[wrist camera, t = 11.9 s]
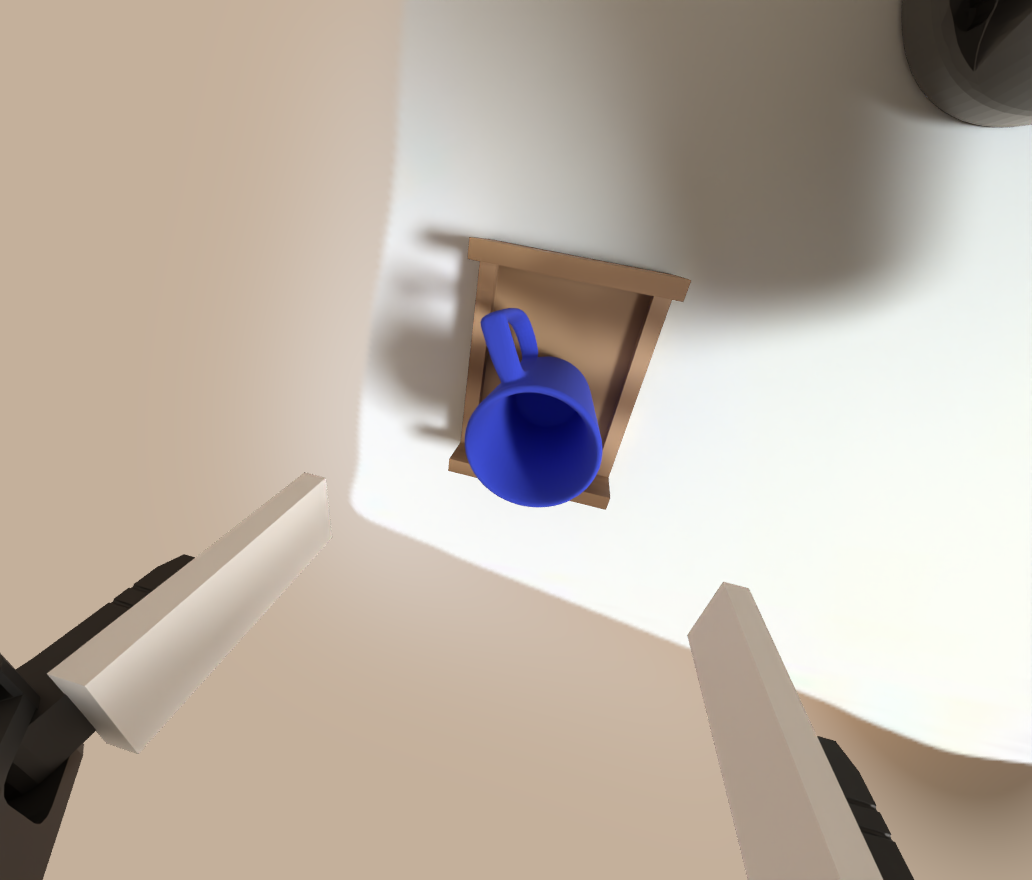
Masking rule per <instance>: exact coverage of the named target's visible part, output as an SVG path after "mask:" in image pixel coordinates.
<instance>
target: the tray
mask: <svg viewBox="0 0 1032 880" xmlns="http://www.w3.org/2000/svg"><path fill="white" fill-rule="evenodd" d="M468 259H471V260H476V261H480V265H479V274H478V284H477V293H476V303H475V312H474V321H473V331H472V340H471V350H470V359H469V369H468V378H467V388H466V397H465V406H464V416H463V425H462V435H461V442H460V444H459V445H458V447H457V448H456V450H455V451H454V453H453V454H452V456H451V457H450V459H449V469H448V471H451V472H456V473H460V474H464V475H468V476H472V477H476V478H477V476H476V475H475V474H474V472H473V470H472V469H471V466H470V464H469V462H468V459H467V456H466V451H465V432H466V427H467V424H468V421H469V419H470V417H471V415H472V413H473V412H474V410H475V409H476V408H477V406H478V405H479V404H480V403H481V402H482V401H483V400H484V399H485V398H486V397H487V396H488V395H489V394H490V393H491V392H492V391H493V390H494V389H495V388H496V387H497V386H498V385H499V384H500V383H501V381H500V378H499V376H498V374H497V372H496V370H495V367H494V365H493V362H492V360H491V357H490V354H489V351H488V348H487V345H486V342H485V339H484V335H483V332H482V329H481V323H480V322H481V319H482V318H483V317H484V316H485V315H487V314H489V313H492V312H494V311H498V310H502V309H506V308H518V309H520V310H522V311H524V312H525V314H526V315H527V316H528V318H529V320H530V322H531V325H532V328H533V331H534V334H535V338H536V342H537V347H538V357H545V356H551V357H557V358H561V359H563V360H566V361H568V362H569V363H571V364H572V365H574V366H575V367H576V368H577V369H578V370H579V371H580V372H581V373H582V374H583V376H584V377H585V379H586V381H587V383H588V385H589V389H590V392H591V396H592V401H593V405H594V409H595V413H596V418H597V422H598V426H599V430H600V435H601V439H602V460H601V464H600V468H599V470H598V473H597V475H596V477H595V478H594V480H593V481H592V483H591V484H590V485H589V486H588V487H587V488H586V489H585V490H584V491H583V492H582V493H581V494H579V495H578V496H576V497H575V498H573V499H571V500H569V501H573V502H577V503H581V504H585V505H589V506H593V507H597V508H601V509H605V510H606V508H607V505H608V502H609V500H610V491H609V478H608V477H609V475H610V472H611V469H612V466H613V463H614V461H615V458H616V455H617V452H618V449H619V447H620V444H621V441H622V438H623V435H624V433H625V430H626V427H627V424H628V421H629V419H630V416H631V413H632V410H633V407H634V405H635V402H636V399H637V396H638V393H639V391H640V388H641V385H642V382H643V379H644V377H645V374H646V371H647V368H648V365H649V363H650V360H651V357H652V354H653V351H654V349H655V346H656V343H657V340H658V337H659V335H660V332H661V329H662V326H663V323H664V321H665V318H666V315H667V312H668V309H669V307H670V304H671V301H672V300H676V301H681V302H683V301H684V299H685V296H686V293H687V291H688V288H689V285H690V283H691V280H689V279H685V278H682V277H679V276H676V275H672V274H667V273H662V272H656V271H651V270H646V269H641V268H636V267H631V266H625V265H620V264H615V263H610V262H605V261H600V260H595V259H589V258H584V257H579V256H574V255H569V254H564V253H558V252H553V251H548V250H543V249H538V248H533V247H528V246H522V245H517V244H512V243H507V242H502V241H497V240H491V239H483V238H473V237H469V248H468ZM508 324H509V328H510V331H511V335H512V338H513V341H514V345H515V348H516V352H517V355H518V358H519V361H520V362H521V361H522V353H521V349H520V345H519V342H518V339H517V336H516V333H515V331H514V329H513V327H512V326H511V325H510V323H509V322H508Z"/></svg>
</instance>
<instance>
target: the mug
mask: <svg viewBox="0 0 1032 880" xmlns="http://www.w3.org/2000/svg"><path fill="white" fill-rule="evenodd" d="M508 322H509V323H510V325H511V326H512V327H513V329H514V331H515V333H516V336H517V339H518V342H519V345H520V349H521V353H522V361H521V362H520V361H519V358H518V355H517V352H516V348H515V345H514V341H513V338H512V335H511V331H510V328H509V324H508ZM480 323H481V329H482V332H483V335H484V339H485V342H486V345H487V348H488V351H489V354H490V357H491V360H492V362H493V365H494V367H495V370H496V372H497V374H498V376H499V378H500V381H501V383H500V384H499V385H498V386H497V387H496V388H495V389H494V390H493V391H492V392H491V393H490V394H489V395H488V396H487V397H486V398H485V399H484V400H483V401H482V402H481V403H480V404H479V405H478V406H477V408H476V409H475V410H474V412H473V413H472V415H471V417H470V419H469V421H468V424H467V427H466V432H465V451H466V456H467V459H468V462H469V464H470V466H471V469H472V470H473V472H474V474H475V475H476V476H477V478H478V479H479V480H480V481H481V483H482V484H483V485H484V486H485V487H486V488H488V489H489V490H490V491H491V492H493V493H494V494H496V495H497V496H499V497H501V498H503V499H504V500H507V501H509V502H512V503H515V504H518V505H522V506H528V507H549V506H555V505H559V504H562V503H565V502H567V501H569V500H571V499H573V498H575V497H576V496H578V495H579V494H581V493H582V492H583V491H584V490H585V489H586V488H587V487H588V486H589V485H590V484H591V483H592V481H593V480H594V478H595V477H596V475H597V473H598V470H599V468H600V464H601V460H602V439H601V435H600V430H599V426H598V422H597V418H596V413H595V409H594V405H593V401H592V396H591V392H590V389H589V385H588V383H587V381H586V379H585V377H584V376H583V374H582V373H581V372H580V371H579V370H578V369H577V368H576V367H575V366H574V365H572V364H571V363H569V362H568V361H566V360H563V359H561V358H557V357H551V356H545V357H538V347H537V342H536V338H535V334H534V331H533V328H532V325H531V322H530V320H529V318H528V316H527V315H526V314H525V312H524V311H522V310H520V309H518V308H506V309H502V310H498V311H494V312H492V313H489V314H487V315H485V316H484V317H483V318H482V319H481V322H480Z"/></svg>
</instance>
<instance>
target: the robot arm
mask: <svg viewBox="0 0 1032 880" xmlns="http://www.w3.org/2000/svg"><path fill="white" fill-rule="evenodd" d="M902 31H903V41H904V48H905V52H906V56H907V60H908V63H909V66H910V69H911V72H912V74H913V76H914V78H915V80H916V82H917V84H918V85H919V87H920V88H921V90H922V91H923V92H924V94H925V95H926V96H927V97H928V99H929V100H931V101H932V102H933V103H934V104H935V105H936V106H937V107H938V108H940V109H941V110H942V111H944V112H946V113H947V114H949V115H951V116H953V117H955V118H957V119H959V120H962V121H965V122H968V123H972V124H977V125H981V126H990V127H1015V126H1024V125H1032V0H903V3H902ZM331 539H332V530H331V521H330V512H329V503H328V494H327V486H326V478H324V477H320V476H316V475H313V474H309V473H305V472H304V473H303V474H302V475H301V476H300V477H298V478H297V479H296V480H294V481H293V482H292V483H290V484H289V485H288V486H287V487H285V488H284V489H283V490H281V491H280V492H279V493H278V494H276V495H275V496H274V497H272V498H271V499H270V500H269V501H267V502H266V503H265V504H264V505H262V506H261V507H260V508H259V509H257V510H256V511H255V512H253V513H252V514H251V515H249V516H248V517H247V518H246V519H244V520H243V521H242V522H241V523H239V524H238V525H237V526H235V527H234V528H233V529H232V530H230V531H229V532H228V533H226V534H225V535H224V536H223V537H221V538H220V539H219V540H218V541H216V542H215V543H214V544H212V545H211V546H210V547H209V548H207V549H206V550H205V551H203V552H202V553H201V554H199V555H198V556H197V557H196V558H195V557H192V556H188V555H182V556H180V557H178V558H175V559H173V560H171V561H169V562H167V563H165V564H163V565H161V566H158V567H157V568H155V569H154V570H152V571H151V572H150V573H149V574H147V575H146V576H144V577H143V578H142V579H140V580H139V581H138V582H136V583H135V584H134V586H133V587H132V588H128V589H127V590H125V591H124V592H123V593H121V594H120V595H118V596H117V597H116V598H114V601H113V602H112V603H108V604H106V605H105V606H103V607H102V608H101V609H99V610H98V611H97V612H95V613H94V614H93V615H91V616H90V617H89V618H87V619H86V620H84V621H83V622H82V623H80V624H79V625H78V626H76V627H75V628H73V629H72V630H71V631H69V632H68V633H67V634H65V635H64V636H63V637H61V638H60V639H58V640H57V641H56V642H54V643H53V644H52V645H50V646H49V647H48V648H46V649H45V650H44V651H42V652H41V653H39V654H38V655H37V656H35V657H34V658H33V659H31V660H30V661H28V662H27V663H25V664H24V665H22V666H20V667H19V668H17V669H16V670H15V669H14V668H13V666H12V665H11V664H10V663H9V662H8V661H7V660H6V659H5V658H4V657H3V656H2V655H1V654H0V880H43V877H44V873H45V871H46V867H47V864H48V861H49V858H50V855H51V852H52V849H53V846H54V843H55V840H56V837H57V834H58V831H59V828H60V824H61V821H62V818H63V815H64V812H65V809H66V806H67V803H68V800H69V797H70V794H71V791H72V788H73V784H74V781H75V778H76V775H77V772H78V769H79V766H80V762H81V760H82V757H83V746H84V744H83V743H84V742H85V740H87V739H88V738H89V737H90V736H91V735H92V734H93V733H94V732H95V731H96V732H97V733H98V734H99V735H100V736H101V737H102V738H103V740H104V741H105V742H106V743H107V744H110V745H113V746H116V747H119V748H122V749H125V750H128V751H131V752H134V753H136V754H139V753H140V752H141V750H142V749H143V748H144V747H145V746H146V745H147V744H148V742H150V740H151V739H152V738H153V737H154V736H155V735H156V733H158V732H159V730H160V729H161V728H162V727H163V726H164V725H165V724H166V723H167V721H168V720H169V719H170V718H171V717H172V716H173V715H174V714H175V713H176V711H177V710H178V709H179V708H180V707H181V706H182V705H183V704H184V703H185V701H186V700H187V699H188V698H189V697H190V696H191V695H192V694H193V692H194V691H195V690H196V689H197V688H198V687H199V686H200V685H201V684H202V682H203V681H204V680H205V679H206V678H207V677H208V676H209V674H210V673H211V672H212V671H213V670H214V669H215V668H216V667H217V666H218V664H219V663H220V662H221V661H222V660H223V659H224V658H225V657H226V656H227V655H228V653H229V652H230V651H231V650H232V649H233V648H234V647H235V646H236V645H237V643H238V642H239V641H240V640H241V639H242V638H243V637H244V636H245V634H246V633H247V632H248V631H249V630H250V629H251V628H252V627H253V626H254V624H255V623H256V622H257V621H258V620H259V619H260V618H261V617H262V615H263V614H264V613H265V612H266V611H267V610H268V609H269V608H270V607H271V605H272V604H273V603H274V602H275V601H276V600H277V599H278V598H279V597H280V595H281V594H282V593H283V592H284V591H285V590H286V589H287V587H289V585H290V584H291V583H292V582H293V581H294V580H295V579H296V577H297V576H298V575H299V574H300V573H301V572H302V571H303V570H304V569H305V568H306V566H307V565H308V564H309V563H310V562H311V561H312V560H313V558H314V557H315V556H316V555H317V554H318V553H319V552H320V551H321V550H322V549H323V547H324V546H325V545H326V544H327V543H328V542H329V541H330V540H331ZM687 636H688V640H689V644H690V648H691V652H692V655H693V660H694V664H695V668H696V672H697V676H698V680H699V684H700V688H701V692H702V696H703V700H704V704H705V708H706V712H707V716H708V720H709V724H710V729H711V733H712V737H713V741H714V745H715V749H716V753H717V756H718V761H719V765H720V769H721V773H722V777H723V781H724V785H725V789H726V793H727V797H728V801H729V805H730V809H731V813H732V817H733V822H734V825H735V830H736V834H737V837H738V842H739V846H740V850H741V854H742V858H743V862H744V866H745V870H746V874H747V878H748V880H914V879H913V876H912V875H911V873H910V871H909V869H908V867H907V865H906V863H905V861H904V859H903V857H902V855H901V853H900V851H899V849H898V847H897V845H896V843H895V842H893V841H892V840H891V837H890V835H891V833H890V831H889V829H888V827H887V825H886V824H885V822H884V820H883V818H882V816H881V814H880V812H877V810H876V804H875V802H874V800H873V798H872V796H871V794H870V792H869V790H868V788H867V786H866V784H865V783H864V780H863V779H862V777H861V775H860V773H859V771H858V770H857V769H856V767H855V766H854V765H853V764H852V762H851V761H850V759H849V758H848V757H847V755H846V754H845V753H844V752H843V750H842V749H841V748H840V747H839V745H838V744H837V743H836V741H833V740H830V739H826V738H823V737H819V736H817V735H816V733H815V731H814V729H813V727H812V724H811V722H810V720H809V718H808V716H807V714H806V711H805V709H804V707H803V705H802V703H801V701H800V698H799V696H798V694H797V692H796V690H795V688H794V685H793V683H792V681H791V679H790V677H789V675H788V672H787V670H786V668H785V666H784V664H783V662H782V659H781V657H780V655H779V653H778V651H777V649H776V646H775V644H774V642H773V640H772V638H771V636H770V633H769V631H768V629H767V627H766V625H765V623H764V620H763V618H762V616H761V614H760V612H759V610H758V607H757V605H756V603H755V601H754V599H753V597H752V594H751V592H750V590H749V588H745V587H741V586H738V585H734V584H730V583H726V582H723V583H722V584H721V586H720V587H719V589H718V590H717V592H716V593H715V595H714V596H713V598H712V599H711V601H710V602H709V604H708V605H707V607H706V608H705V610H704V611H703V613H702V614H701V616H700V617H699V619H698V620H697V622H696V623H695V625H694V626H693V628H692V629H691V631H690V632H689V634H688V635H687Z"/></svg>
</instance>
